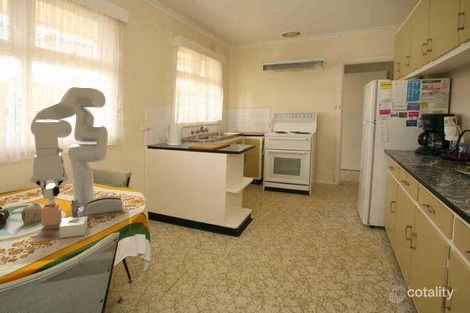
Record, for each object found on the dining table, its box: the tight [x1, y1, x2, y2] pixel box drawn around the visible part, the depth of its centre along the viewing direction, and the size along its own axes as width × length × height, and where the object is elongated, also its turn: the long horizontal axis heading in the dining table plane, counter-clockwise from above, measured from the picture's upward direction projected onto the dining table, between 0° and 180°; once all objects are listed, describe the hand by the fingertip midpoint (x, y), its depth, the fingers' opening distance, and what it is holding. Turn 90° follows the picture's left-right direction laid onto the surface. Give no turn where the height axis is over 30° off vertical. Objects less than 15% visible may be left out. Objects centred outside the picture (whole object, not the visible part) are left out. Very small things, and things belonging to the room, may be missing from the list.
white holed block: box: [59, 217, 89, 238], centre depth 106 cm, size 8×8×4 cm
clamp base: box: [42, 198, 90, 230], centre depth 113 cm, size 8×15×10 cm, turn 111°
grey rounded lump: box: [21, 201, 42, 226], centre depth 116 cm, size 9×8×10 cm
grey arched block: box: [85, 195, 124, 216], centre depth 129 cm, size 17×5×10 cm, turn 121°
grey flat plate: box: [30, 216, 92, 243], centre depth 109 cm, size 20×17×2 cm
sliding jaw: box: [40, 202, 63, 227], centre depth 111 cm, size 6×6×7 cm
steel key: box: [42, 183, 56, 207], centre depth 110 cm, size 8×3×10 cm, turn 20°
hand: (51, 195), depth 110 cm, fingers closed on steel key, 3 cm apart
